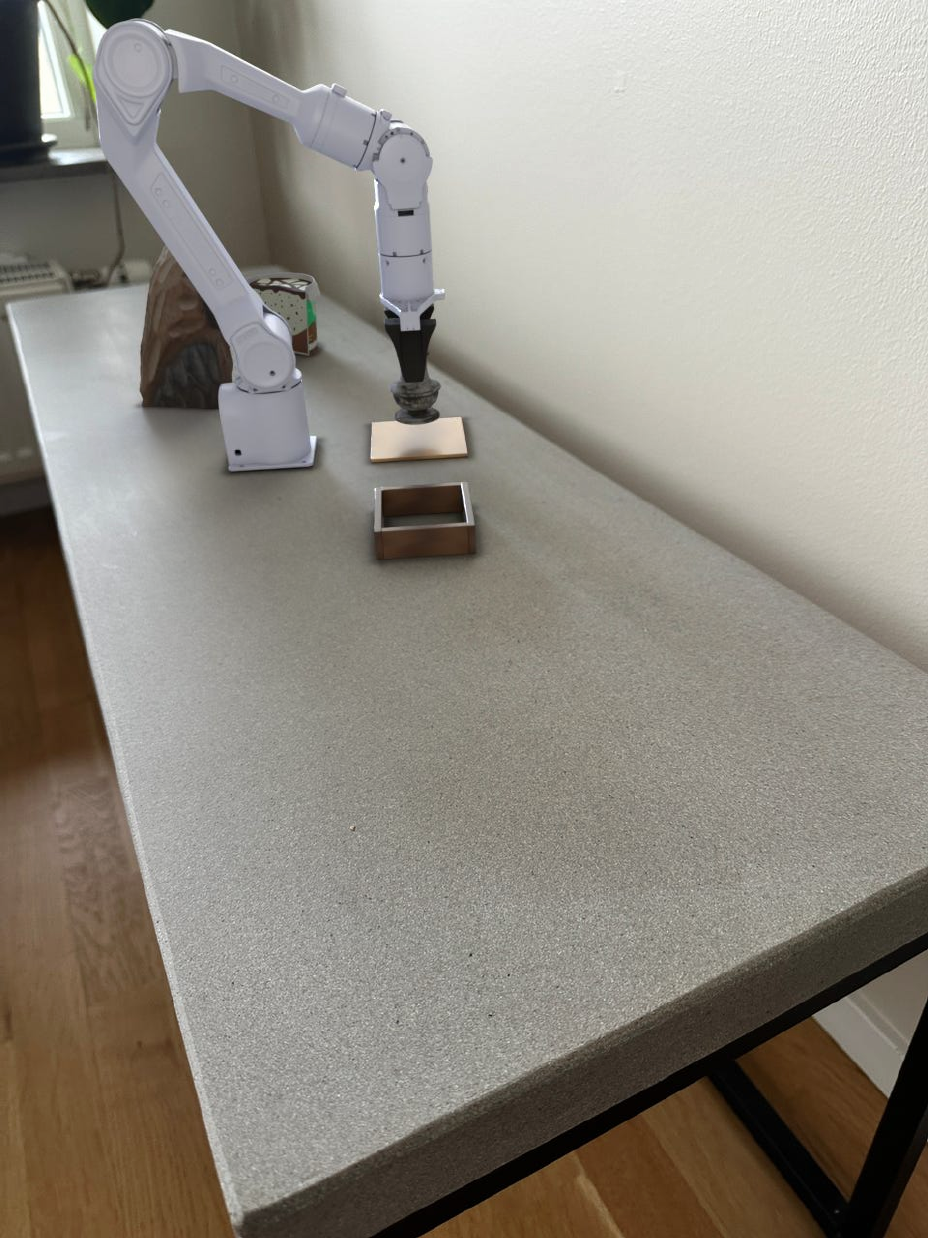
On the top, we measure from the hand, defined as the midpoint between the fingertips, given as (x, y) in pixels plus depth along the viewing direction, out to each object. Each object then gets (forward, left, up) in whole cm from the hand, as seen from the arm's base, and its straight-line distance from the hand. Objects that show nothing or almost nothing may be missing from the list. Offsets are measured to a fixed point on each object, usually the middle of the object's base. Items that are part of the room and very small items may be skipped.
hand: (413, 375), depth 109 cm
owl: (-30, +20, -8) cm, 37 cm away
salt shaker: (0, 0, -5) cm, 5 cm away
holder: (0, -23, -8) cm, 24 cm away
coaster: (0, 0, -8) cm, 8 cm away
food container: (-17, +39, -8) cm, 43 cm away
